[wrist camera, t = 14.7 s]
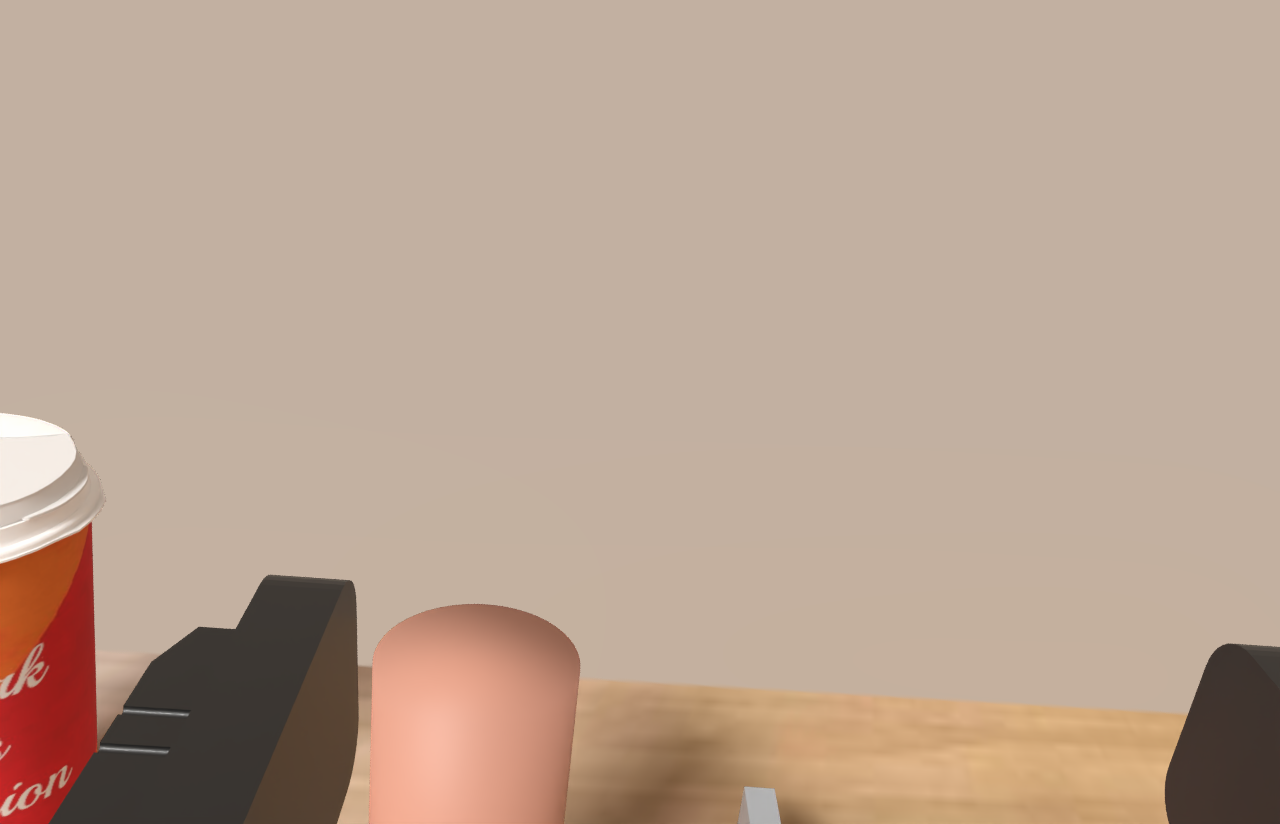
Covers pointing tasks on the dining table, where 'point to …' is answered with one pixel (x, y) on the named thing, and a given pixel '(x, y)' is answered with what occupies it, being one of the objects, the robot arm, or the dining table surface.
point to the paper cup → (45, 617)
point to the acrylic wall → (759, 806)
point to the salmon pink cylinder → (472, 718)
